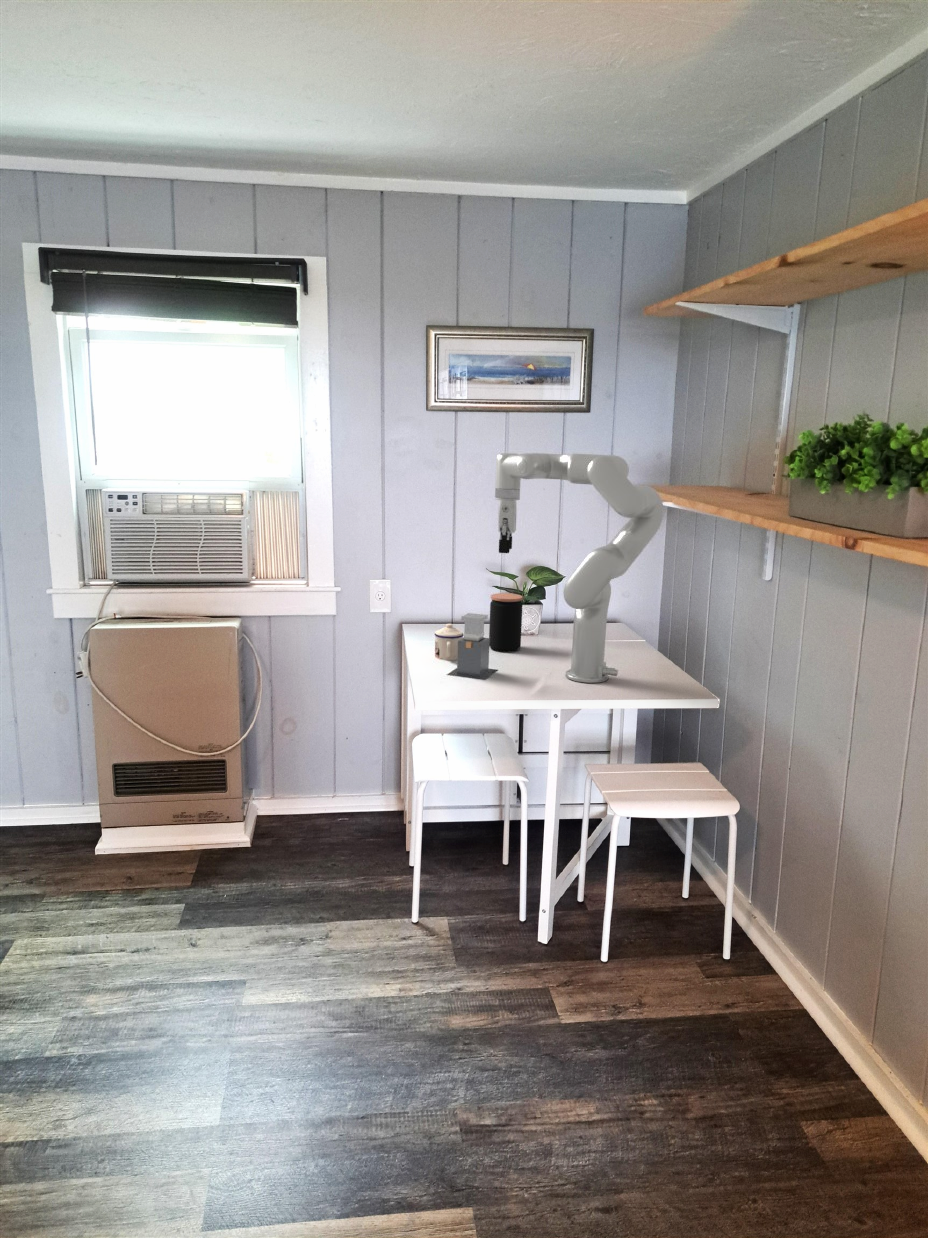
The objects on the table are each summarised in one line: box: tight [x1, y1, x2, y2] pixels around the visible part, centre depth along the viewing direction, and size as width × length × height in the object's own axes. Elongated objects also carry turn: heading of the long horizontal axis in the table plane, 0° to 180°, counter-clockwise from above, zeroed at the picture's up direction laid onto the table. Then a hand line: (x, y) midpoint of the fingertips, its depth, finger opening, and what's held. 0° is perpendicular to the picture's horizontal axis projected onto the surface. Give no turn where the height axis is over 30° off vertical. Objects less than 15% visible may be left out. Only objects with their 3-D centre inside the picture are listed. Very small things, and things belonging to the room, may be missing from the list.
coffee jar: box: [488, 592, 524, 653], centre depth 280 cm, size 11×11×18 cm
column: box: [460, 612, 489, 642], centre depth 246 cm, size 6×6×17 cm
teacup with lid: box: [434, 623, 464, 661], centre depth 262 cm, size 12×9×12 cm
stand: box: [446, 636, 499, 681], centre depth 247 cm, size 12×12×11 cm
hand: (505, 550), depth 258 cm, fingers open, 9 cm apart
